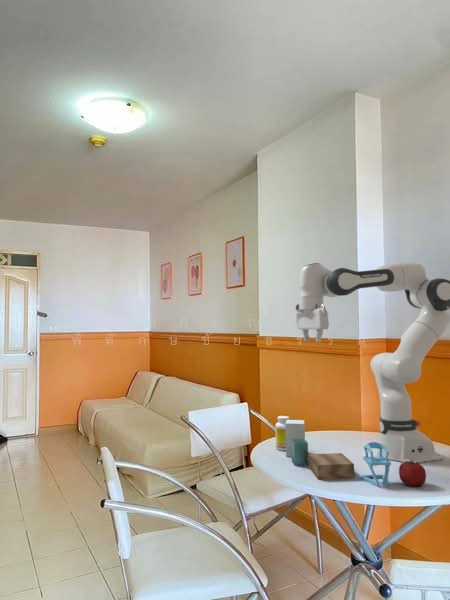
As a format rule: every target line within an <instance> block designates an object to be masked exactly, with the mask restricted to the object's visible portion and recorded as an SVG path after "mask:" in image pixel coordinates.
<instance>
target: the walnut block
mask: <svg viewBox="0 0 450 600" xmlns="http://www.w3.org/2000/svg"><path fill="white" fill-rule="evenodd" d="M308 468H309V470H310V471H311V473H312V474H313V475H314V476H315V478H316V479H317V480H318V481H319V480H321V481H322V480H346V479H347V480H348V479H349V480H350V479H355V464H354V463H353V462H352V461H351V459H349V458H348V456H346V455H344V454H343V453H342V452H341V453H340V452H339V453H338V452H336V453H335V452H334V453H308Z"/></svg>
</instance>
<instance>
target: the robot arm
mask: <svg viewBox="0 0 450 600" xmlns="http://www.w3.org/2000/svg"><path fill="white" fill-rule="evenodd" d="M366 288H369V289H370V288H377V289H378V290H379V291H381V292H401V291H404V293H405V296H406V300H407V303H408V304H409V305H410V306H412V307H413V308H416V309H421V310H420V313H419V315H418V317H416V319H414V321H413V322H412V323H411V324H410V325H409V327H408V328H406V330H405V331H404V332H403V333H402V335H400V343H399V345H398V347H397V349H396V350H395V351H394V352H381V353H377V354H375V355H374V356H373V357H372V359H371V360H370V370H371V373H372V374H373V375H374V377H375V382H376V387H377V391H378V395H379V403H380V404H379V405H380V407H379V408H380V417H379V431H380V439H379V443H380V444H383V445H385V446H387V448H388V451H389V455H388V460H391V461H396V462H401V463H404V462H406V461H408V462H410V461H413V462H417V463H424V462H423V461H427V462H431V461H430V460H436V461H438V460H437V459H442V460H443V456H442V455H441V453H439V452H438V451H436V450H435V446H434V443H433V441H432V440H431V438H429V436H427V435H425V434H424V433H423V432H421V431H420V430H419V429H418V428H417V427H419V428H421V427H422V426H423V424H422V421H420V420H416V419H414V418H413V415H412V399H411V396H410V394H409V393H408V390H407V388H406V385H407V384H412V383H415V382H416V381H418V380H419V379H420V377H421V375H422V364H423V361H424V359H425V357H426V356H427V354H428V353H429V351H431V350H432V347H434V345H435V344H436V343H437V342H438V341H439V339H440V338H441V337H442V336H443V334H444V333H445V331H446V330H447V328H448V325H449V324H450V314H449V313H448V311H447V310H449V309H450V280H449V279H446V278H438V277H437V278H435V279H429V278H428V277H427V273H426V270H425V267H424V266H422V265H421V264H419V263H416V262H396V263H389V264H385V265H381V266H379V267H378V268H376V269H373V270H372V269H371V270H361V271H360V270H359V271H357V270H352V269H350V268H346V267H339V268H336V269H334V270H330V269H328V268H326V267H324V266H323V265H322V264H321V263H319V262H313V263H309V264H305V265H304V266H303V267H302V268H301V269H300V272H299V290H300V295H299V302H298V303H297V304H296V305H295V307H294V310H295V311H296V314H295V317H296V318H295V319H296V328H297V329H298V330H301V331H302V332H301V333H302V335H303V341H304V342H310V336H309V330H315V332H316V335H315V337H314V341H315V342H316V343H321V342H322V336H323V331H324V330H328V329H329V326H330V324H329V323H330V322H329V313H328V310H327V309H326V307H325V305H324V297H329V298H335V297H341V296H342V297H343V296H348V295H350V294H352V293H354V292H355V291H357V290H360V289H366ZM405 384H406V385H405ZM379 452H380V449H378V451H377V456H379ZM386 454H387V453H386V451H385V449H382V456H383V457H384V458H385V457H386Z"/></svg>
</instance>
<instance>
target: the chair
mask: <svg viewBox="0 0 450 600" xmlns="http://www.w3.org/2000/svg"><path fill="white" fill-rule="evenodd" d="M363 449H364V452H365V455H364V456H362V460H364V461H365V463H366V464H367V466H368V467H369V470H370V472H371V474H364V475H360V479H361V480H363V481H365V482H367V483H370V484H372V485H373V486H375V487H377V488H380V482H379V479H382V484H383V486H384V487H387V488H388V480H389V475H390V474H389V472H390V467H391V465H392V462H391V461H389V459H388V455H389V451H388V448H387V446H385V445H383V444H380V442H376V441H372V442H368V443H367V444H365V445H363ZM373 449H378V450H379V449H380V452H379V455H376V456H374V451H373ZM382 449H385V451H386V453H387V454H386V457H385V458H384V457H383V456H382ZM369 454H370V456H369ZM373 466H376V467H377V466H385V468H384V469H385V471H384V474H376V473H375V471H374V467H373Z"/></svg>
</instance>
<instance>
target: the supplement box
mask: <svg viewBox="0 0 450 600" xmlns="http://www.w3.org/2000/svg"><path fill="white" fill-rule="evenodd" d="M305 425H306V424H305V419H289V420H286V451H285V456H286V457H289V458H292V457H291V440H292V439H305V440H306V429H305V427H306V426H305Z"/></svg>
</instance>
